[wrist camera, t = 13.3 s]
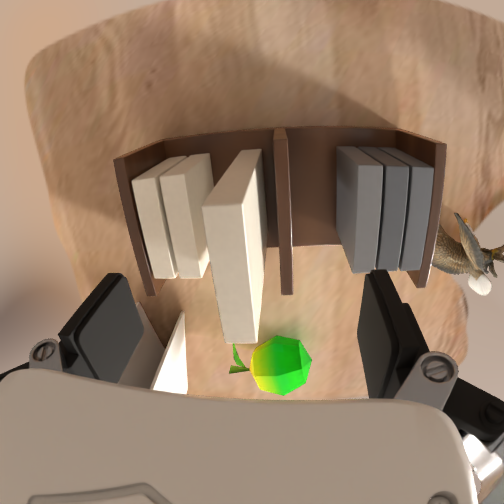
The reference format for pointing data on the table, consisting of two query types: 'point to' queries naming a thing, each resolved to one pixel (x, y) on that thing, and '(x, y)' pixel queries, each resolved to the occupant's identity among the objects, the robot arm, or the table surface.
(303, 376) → the apple
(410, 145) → the book rack
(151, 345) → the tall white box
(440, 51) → the table surface
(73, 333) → the robot arm
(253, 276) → the white book
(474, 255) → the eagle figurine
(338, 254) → the table surface
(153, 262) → the white books
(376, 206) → the grey books
